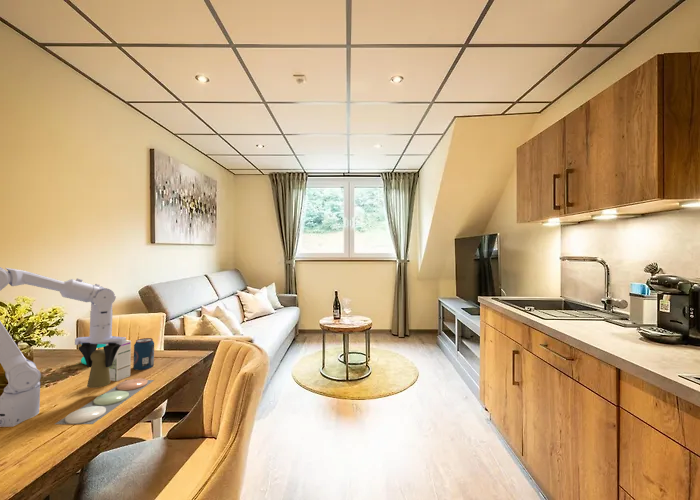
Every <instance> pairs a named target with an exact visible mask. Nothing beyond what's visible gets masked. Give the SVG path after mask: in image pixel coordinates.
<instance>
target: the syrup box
mask: <svg viewBox="0 0 700 500" xmlns="http://www.w3.org/2000/svg"><path fill="white" fill-rule="evenodd" d="M107 345H108V344H106V346H107ZM131 355H132V340H128V339H126V343H125V344H122V345H121V346H120V347H119V349H118V351H117V353H116V355H115V357H114V360H113V364H112V366H110V367H109V372H110V382H111V381H112V382H118V381H121V380H123V379H126V378H129V377H130V376H131V362H132V361H131V360H132V359H131Z"/></svg>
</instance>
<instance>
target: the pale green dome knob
mask: <svg viewBox="0 0 700 500" xmlns="http://www.w3.org/2000/svg"><path fill="white" fill-rule="evenodd" d="M104 393H105V394H104ZM104 393H103V394H99V395H98V396H96V397H95V398H94V399H93V400H94V404H95V405H99V406H104V405H111V404H115V403H119V402H121V401H124V400H125V399H127V398H128V397H129V393H128V392H126V391H114V392H109V393H106V392H104ZM127 400H128V399H127ZM124 402H125V401H124Z"/></svg>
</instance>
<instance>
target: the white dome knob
mask: <svg viewBox="0 0 700 500" xmlns="http://www.w3.org/2000/svg"><path fill="white" fill-rule="evenodd" d="M105 413H106V408H105V407H103V406H91V407H86V408H82V409H80V408H79V410H78V409H76V410H75V411H72V412H70V413H69V414H67V415H66V416H65V417H66V418H65V417H64V418H65V422H66V423H68V424H67V425H81V424H80V423H85V422H89V421H92V420H95V419H97V418H99V417H101V416H103V415H104V414H105ZM103 417H104V416H103Z"/></svg>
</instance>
